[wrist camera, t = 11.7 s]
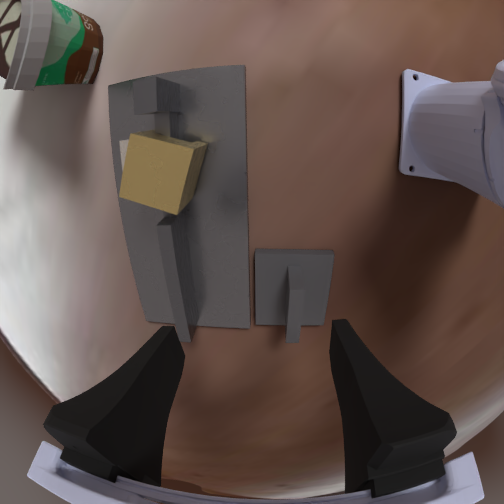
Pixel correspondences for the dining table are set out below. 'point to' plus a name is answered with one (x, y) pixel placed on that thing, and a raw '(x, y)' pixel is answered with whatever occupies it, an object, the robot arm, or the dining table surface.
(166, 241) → the rail
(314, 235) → the dining table surface
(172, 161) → the clip
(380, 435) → the robot arm
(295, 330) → the grey finned base plate
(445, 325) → the dining table surface
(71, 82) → the food container
